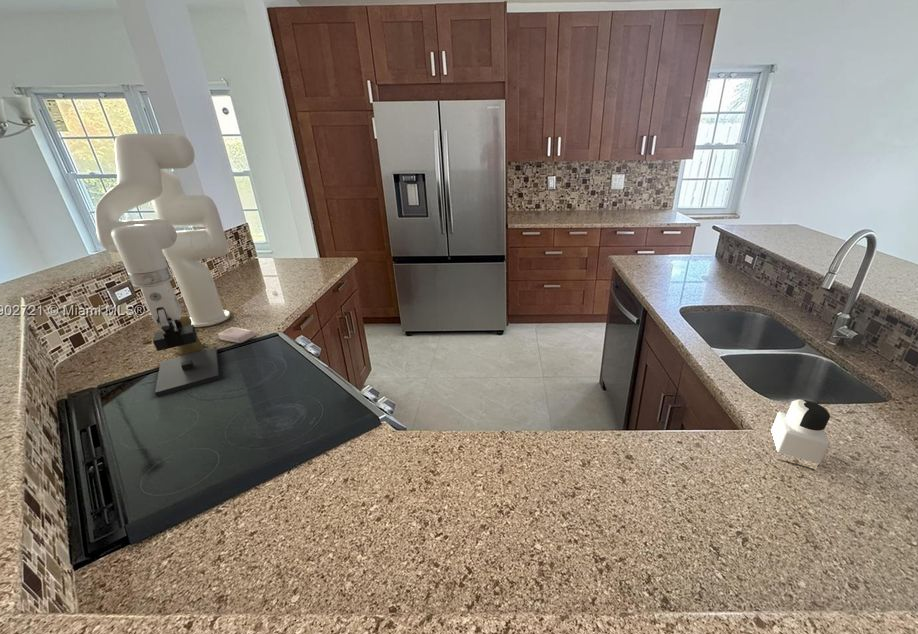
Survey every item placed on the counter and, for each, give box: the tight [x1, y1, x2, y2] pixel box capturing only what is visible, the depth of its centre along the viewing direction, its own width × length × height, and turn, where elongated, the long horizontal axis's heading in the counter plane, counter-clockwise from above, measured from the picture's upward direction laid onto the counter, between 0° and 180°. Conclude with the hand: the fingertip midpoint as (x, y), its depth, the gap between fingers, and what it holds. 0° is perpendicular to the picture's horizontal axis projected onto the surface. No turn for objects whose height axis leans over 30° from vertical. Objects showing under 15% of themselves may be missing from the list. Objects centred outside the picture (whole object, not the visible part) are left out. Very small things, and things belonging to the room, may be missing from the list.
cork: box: [176, 314, 204, 355], centre depth 111 cm, size 6×6×11 cm
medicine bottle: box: [770, 399, 831, 465], centre depth 74 cm, size 7×7×12 cm
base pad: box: [154, 347, 221, 397], centre depth 102 cm, size 18×13×3 cm
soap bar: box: [217, 326, 255, 344], centre depth 119 cm, size 5×9×2 cm, turn 73°
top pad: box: [152, 324, 198, 352], centre depth 98 cm, size 6×8×3 cm
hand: (177, 340), depth 98 cm, fingers closed on top pad, 6 cm apart
